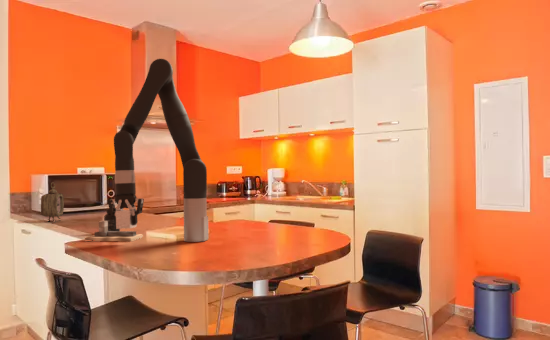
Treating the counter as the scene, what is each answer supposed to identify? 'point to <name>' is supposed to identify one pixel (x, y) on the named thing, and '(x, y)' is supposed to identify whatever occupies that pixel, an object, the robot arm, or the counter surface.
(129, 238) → the ratchet board
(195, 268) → the counter surface
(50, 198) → the tabletop clock
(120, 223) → the grey block
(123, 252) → the counter surface
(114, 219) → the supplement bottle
